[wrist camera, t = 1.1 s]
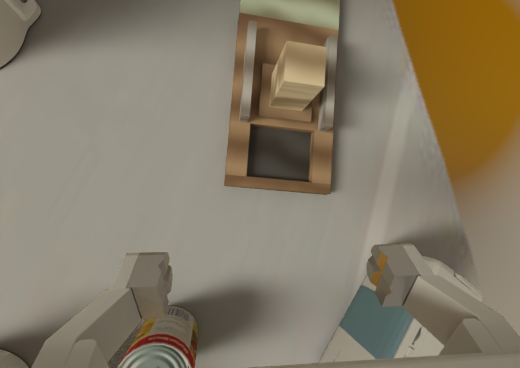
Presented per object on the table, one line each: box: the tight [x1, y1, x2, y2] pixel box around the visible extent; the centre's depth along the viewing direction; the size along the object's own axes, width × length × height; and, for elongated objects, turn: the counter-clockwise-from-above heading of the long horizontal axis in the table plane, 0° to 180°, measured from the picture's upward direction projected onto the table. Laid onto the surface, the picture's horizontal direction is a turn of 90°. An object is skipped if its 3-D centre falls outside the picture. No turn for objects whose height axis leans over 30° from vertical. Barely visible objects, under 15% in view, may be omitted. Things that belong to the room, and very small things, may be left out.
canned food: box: [118, 306, 198, 368], centre depth 36 cm, size 8×8×12 cm
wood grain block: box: [258, 41, 327, 123], centre depth 41 cm, size 8×8×10 cm
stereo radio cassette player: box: [319, 256, 484, 363], centre depth 37 cm, size 21×8×20 cm, turn 147°
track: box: [224, 0, 340, 195], centre depth 45 cm, size 37×16×5 cm, turn 176°
